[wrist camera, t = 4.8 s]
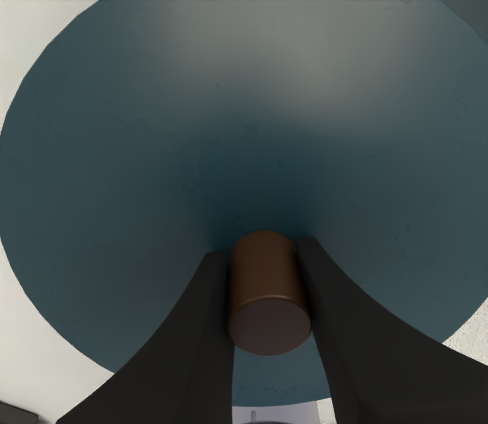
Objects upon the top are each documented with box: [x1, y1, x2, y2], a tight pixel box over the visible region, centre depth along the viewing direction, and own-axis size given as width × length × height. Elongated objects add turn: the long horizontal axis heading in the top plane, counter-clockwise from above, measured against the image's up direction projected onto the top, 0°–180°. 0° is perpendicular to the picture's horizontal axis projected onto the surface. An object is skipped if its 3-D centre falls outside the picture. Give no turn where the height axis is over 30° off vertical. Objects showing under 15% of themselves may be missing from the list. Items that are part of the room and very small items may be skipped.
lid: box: [0, 0, 488, 407], centre depth 12 cm, size 18×18×4 cm
